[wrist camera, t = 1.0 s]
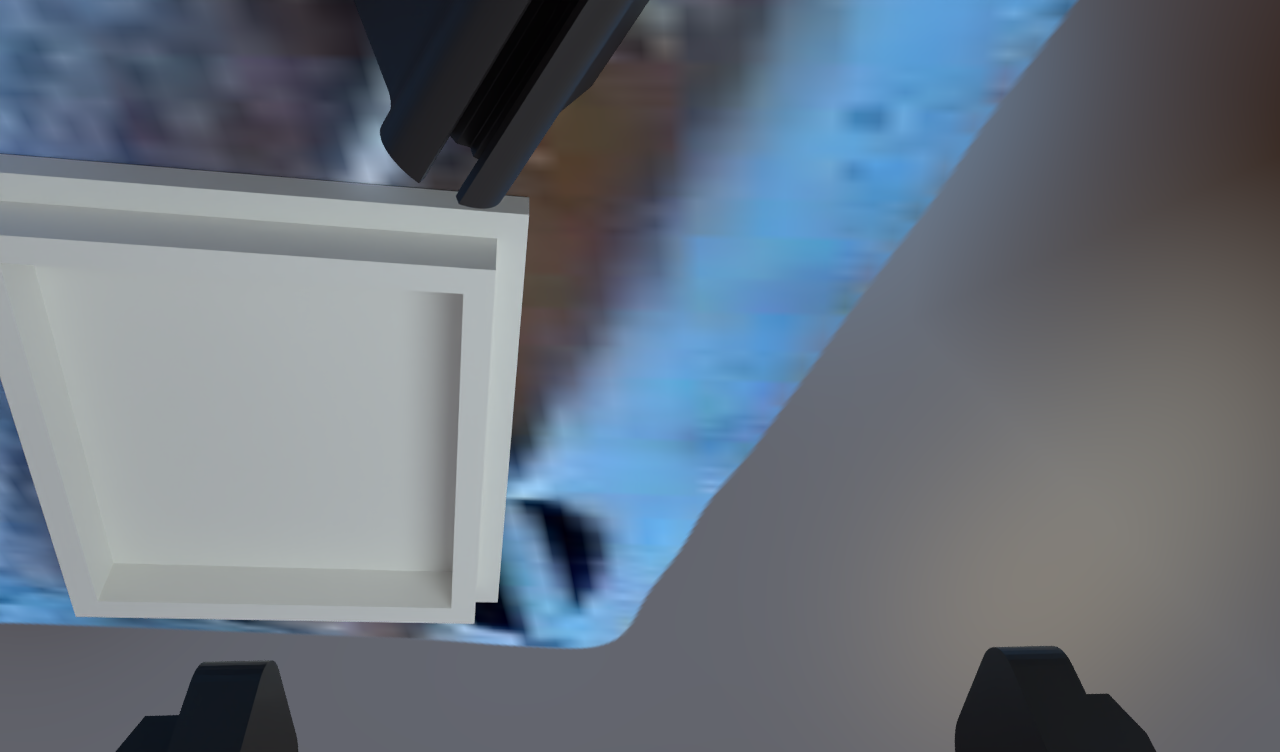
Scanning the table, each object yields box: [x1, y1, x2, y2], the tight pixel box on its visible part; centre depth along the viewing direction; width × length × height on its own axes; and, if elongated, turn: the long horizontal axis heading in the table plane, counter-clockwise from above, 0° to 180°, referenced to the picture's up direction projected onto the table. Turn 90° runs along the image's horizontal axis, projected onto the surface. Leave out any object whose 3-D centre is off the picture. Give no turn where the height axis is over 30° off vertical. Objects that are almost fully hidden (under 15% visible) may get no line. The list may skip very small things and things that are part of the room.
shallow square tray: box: [0, 154, 529, 624], centre depth 38 cm, size 18×20×3 cm
